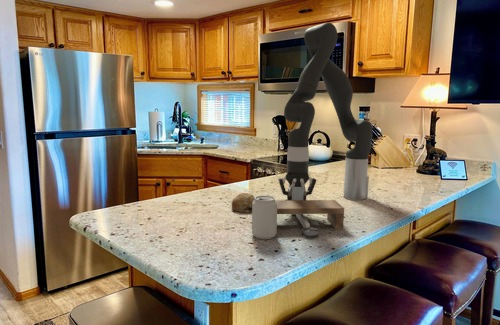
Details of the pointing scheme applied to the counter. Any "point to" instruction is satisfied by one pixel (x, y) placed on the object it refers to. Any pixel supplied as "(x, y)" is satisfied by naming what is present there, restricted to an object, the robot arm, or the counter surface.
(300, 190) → the mallet tool
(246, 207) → the bread roll
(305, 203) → the riser
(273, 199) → the can
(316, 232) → the disc
